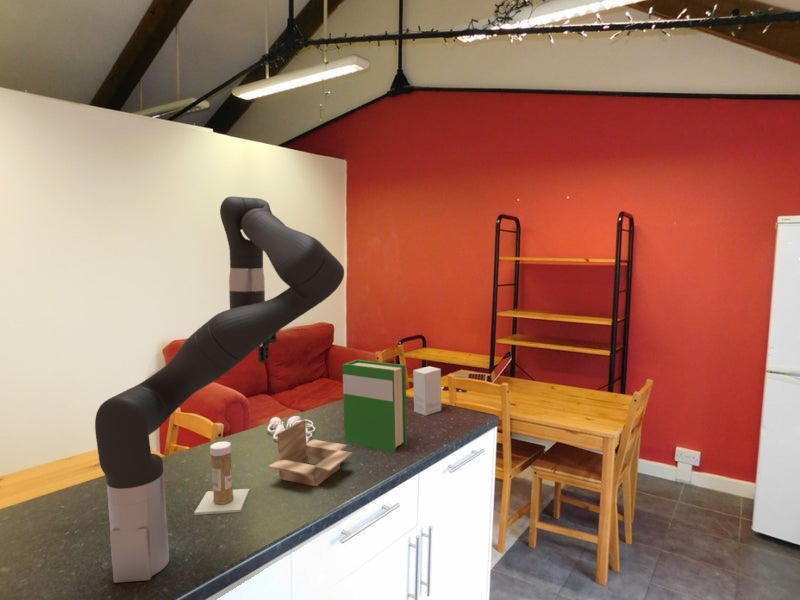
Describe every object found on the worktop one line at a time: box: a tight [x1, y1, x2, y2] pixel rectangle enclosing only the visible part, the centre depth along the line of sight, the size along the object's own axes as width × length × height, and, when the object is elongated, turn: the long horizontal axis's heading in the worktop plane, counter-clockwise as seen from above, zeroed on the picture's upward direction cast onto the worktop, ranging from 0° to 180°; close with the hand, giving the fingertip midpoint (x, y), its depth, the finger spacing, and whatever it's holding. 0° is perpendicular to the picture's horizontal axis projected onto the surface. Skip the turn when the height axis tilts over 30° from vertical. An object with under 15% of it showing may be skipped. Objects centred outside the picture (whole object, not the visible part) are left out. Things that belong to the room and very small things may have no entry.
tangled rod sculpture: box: [266, 415, 316, 443], centre depth 160 cm, size 19×14×4 cm
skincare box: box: [412, 365, 442, 416], centre depth 180 cm, size 8×7×16 cm
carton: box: [268, 419, 353, 487], centre depth 131 cm, size 15×19×12 cm
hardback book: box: [342, 359, 408, 453], centre depth 151 cm, size 18×7×24 cm, turn 59°
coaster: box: [193, 488, 250, 516], centre depth 117 cm, size 10×10×1 cm
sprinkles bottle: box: [209, 441, 234, 505], centre depth 116 cm, size 5×5×14 cm
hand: (248, 360), depth 114 cm, fingers open, 8 cm apart
